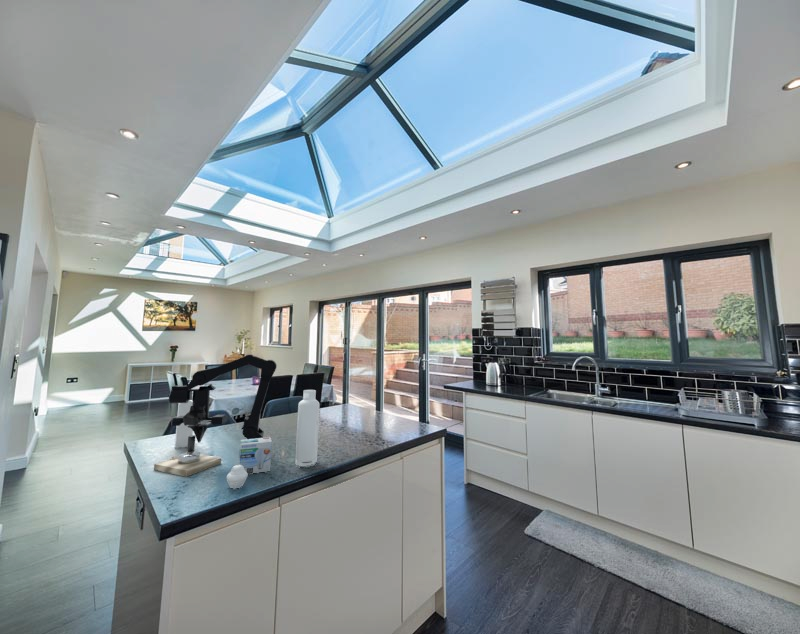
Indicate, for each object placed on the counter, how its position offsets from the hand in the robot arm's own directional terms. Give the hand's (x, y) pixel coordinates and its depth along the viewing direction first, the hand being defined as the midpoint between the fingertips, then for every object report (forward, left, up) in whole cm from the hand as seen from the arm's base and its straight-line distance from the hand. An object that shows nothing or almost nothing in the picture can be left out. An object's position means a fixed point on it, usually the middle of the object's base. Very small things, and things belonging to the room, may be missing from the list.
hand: (199, 442), depth 128 cm
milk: (+22, -11, -7) cm, 25 cm away
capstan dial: (-1, +5, -5) cm, 7 cm away
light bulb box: (-28, 0, -7) cm, 29 cm away
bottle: (-41, -13, -7) cm, 44 cm away
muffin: (-33, +13, -7) cm, 36 cm away
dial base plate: (-3, +6, -7) cm, 10 cm away
